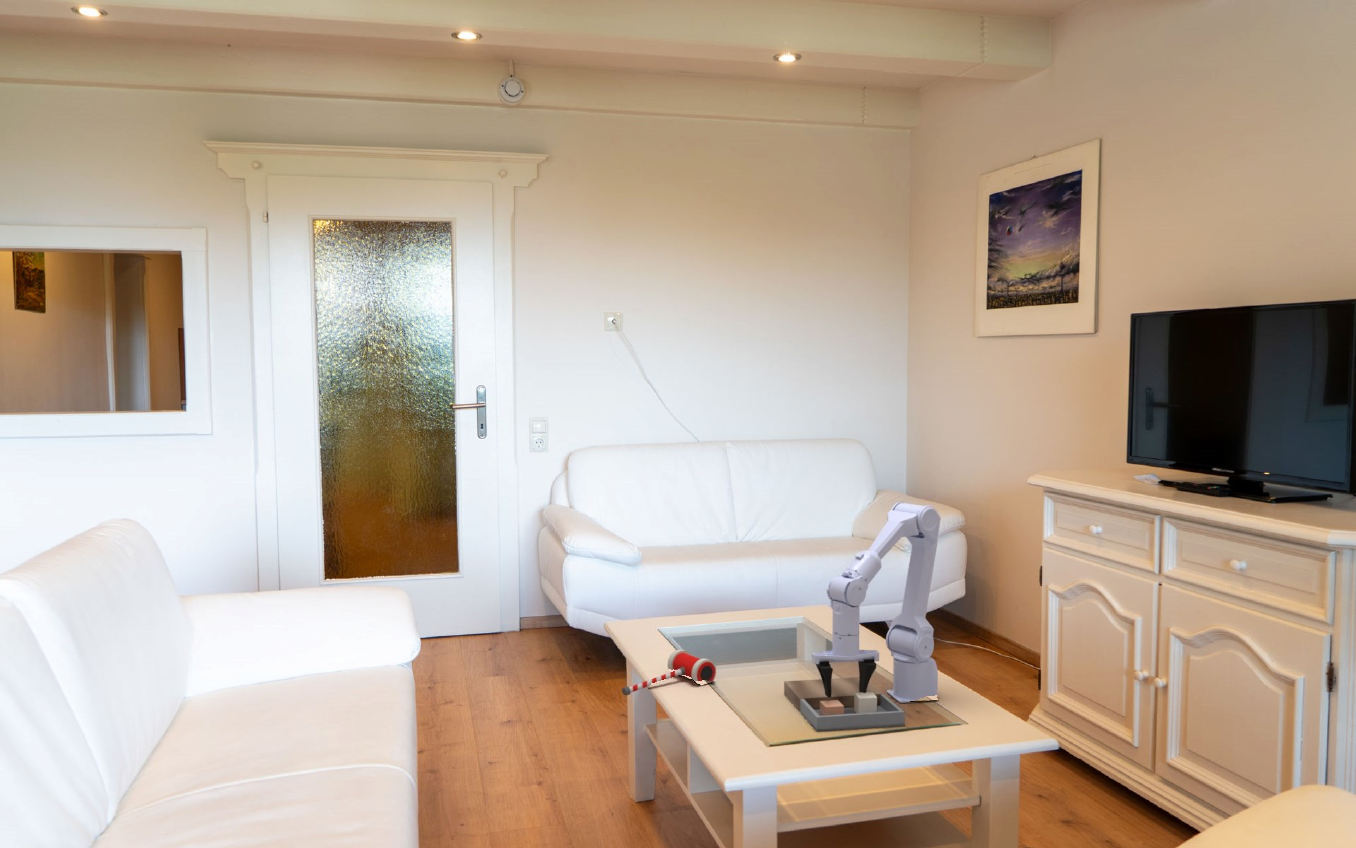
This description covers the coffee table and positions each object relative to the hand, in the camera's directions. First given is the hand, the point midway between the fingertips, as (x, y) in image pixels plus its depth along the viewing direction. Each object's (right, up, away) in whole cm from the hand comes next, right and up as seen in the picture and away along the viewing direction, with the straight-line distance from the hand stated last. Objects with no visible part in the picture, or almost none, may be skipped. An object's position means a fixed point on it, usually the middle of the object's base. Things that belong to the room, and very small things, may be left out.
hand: (845, 694), depth 209 cm
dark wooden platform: (-1, -4, +9) cm, 10 cm away
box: (+1, -4, -3) cm, 5 cm away
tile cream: (+4, -2, -1) cm, 5 cm away
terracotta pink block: (-3, -2, -4) cm, 6 cm away
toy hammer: (-37, -4, +22) cm, 43 cm away
